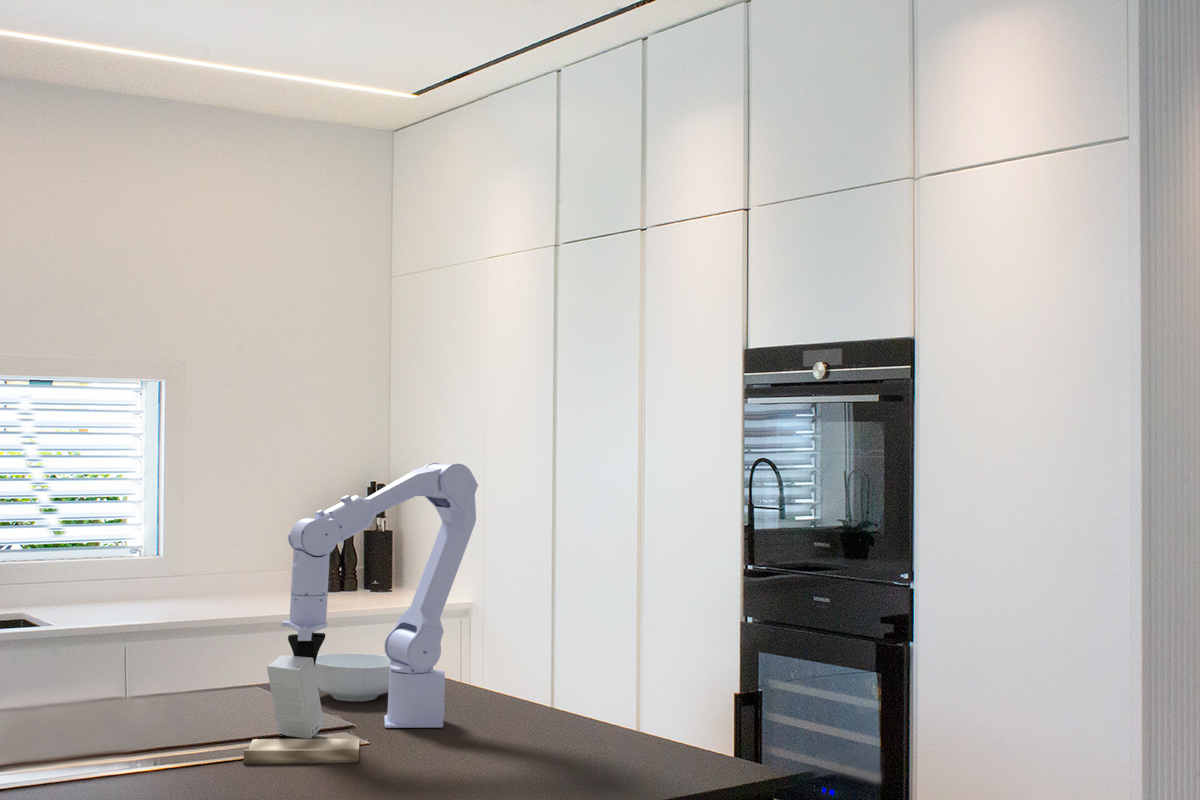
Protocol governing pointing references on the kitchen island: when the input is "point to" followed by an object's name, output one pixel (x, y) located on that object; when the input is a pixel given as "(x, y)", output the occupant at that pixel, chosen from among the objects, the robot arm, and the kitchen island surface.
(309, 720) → the skincare box
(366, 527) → the robot arm
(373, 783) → the kitchen island surface
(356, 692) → the cereal bowl
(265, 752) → the gold metal board
